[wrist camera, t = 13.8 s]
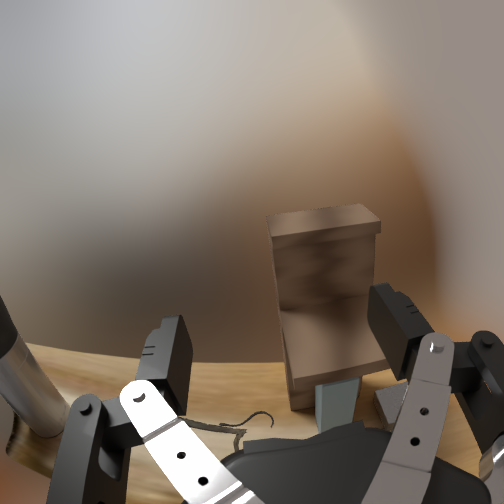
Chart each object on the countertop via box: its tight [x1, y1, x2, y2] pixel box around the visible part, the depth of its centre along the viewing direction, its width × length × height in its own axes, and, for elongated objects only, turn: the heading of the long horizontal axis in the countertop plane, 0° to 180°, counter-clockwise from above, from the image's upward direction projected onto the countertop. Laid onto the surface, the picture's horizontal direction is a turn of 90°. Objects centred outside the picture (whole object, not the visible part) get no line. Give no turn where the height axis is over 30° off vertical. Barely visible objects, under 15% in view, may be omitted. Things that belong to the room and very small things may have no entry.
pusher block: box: [315, 377, 359, 434], centre depth 33 cm, size 4×4×12 cm
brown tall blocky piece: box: [266, 203, 390, 411], centre depth 31 cm, size 10×13×27 cm
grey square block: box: [373, 381, 408, 431], centre depth 35 cm, size 6×6×2 cm
